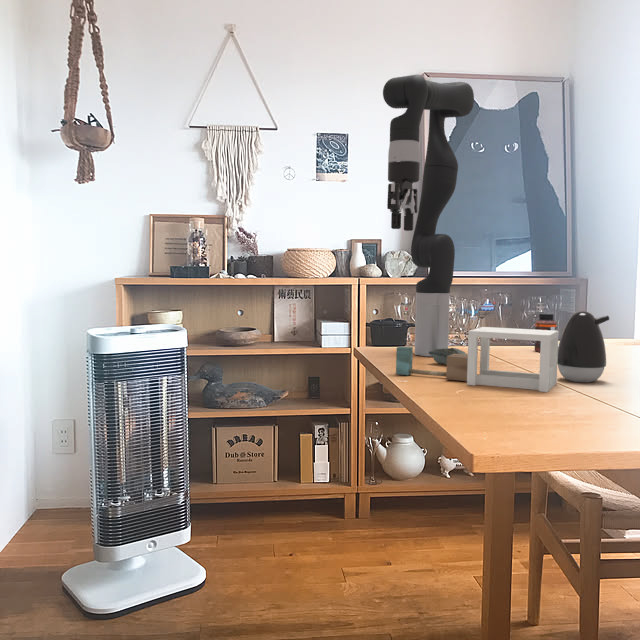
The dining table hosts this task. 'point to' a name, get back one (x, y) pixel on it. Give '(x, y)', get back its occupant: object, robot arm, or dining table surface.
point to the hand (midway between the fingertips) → (402, 229)
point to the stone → (444, 354)
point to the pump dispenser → (582, 348)
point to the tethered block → (453, 372)
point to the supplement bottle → (544, 326)
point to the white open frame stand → (507, 378)
